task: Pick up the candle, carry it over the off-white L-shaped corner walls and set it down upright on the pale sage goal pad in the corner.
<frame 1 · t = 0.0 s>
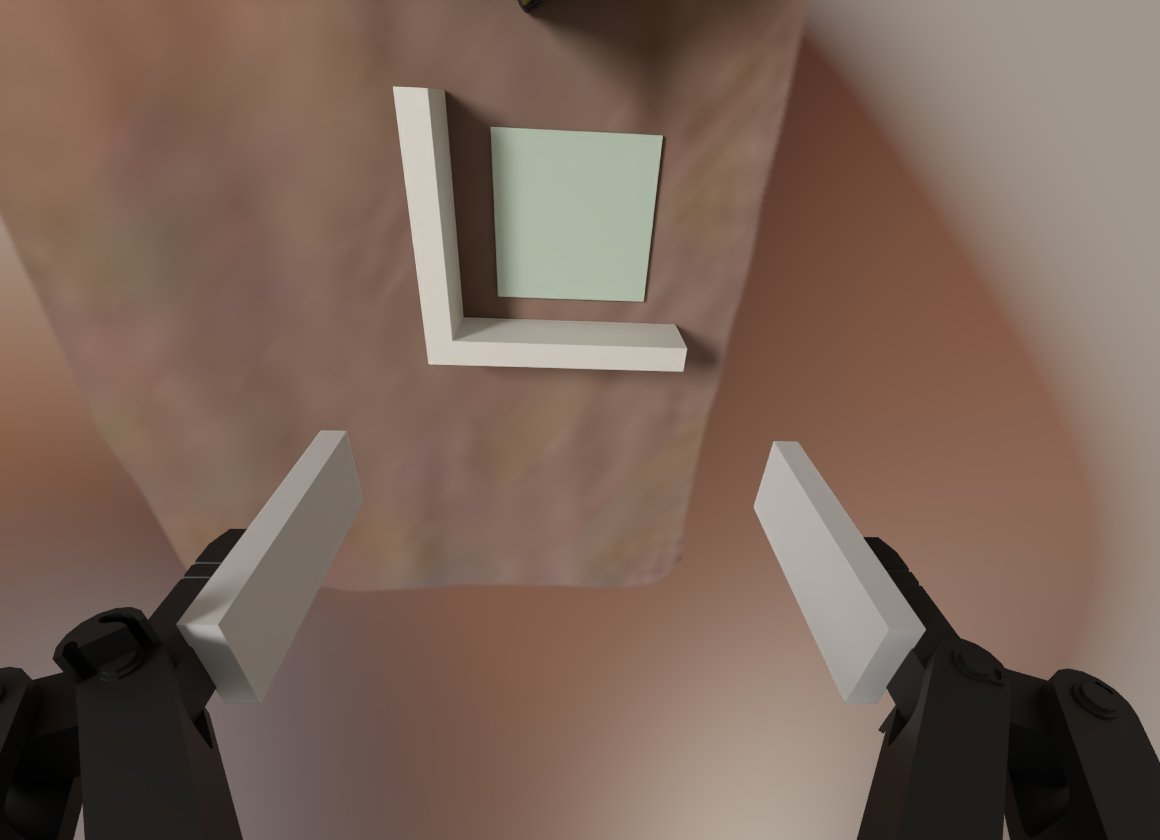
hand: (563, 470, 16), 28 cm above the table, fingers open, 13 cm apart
goal pad: (574, 221, 38), on the table
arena: (560, 220, 38), on the table
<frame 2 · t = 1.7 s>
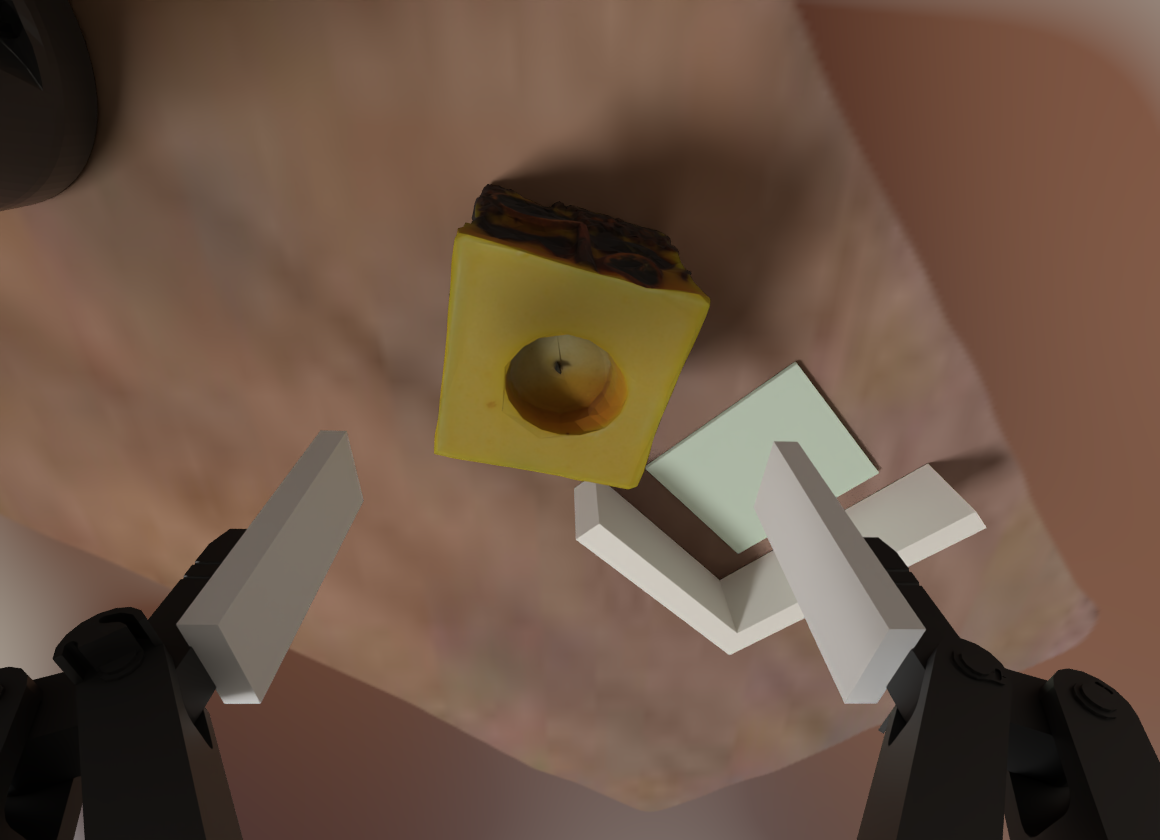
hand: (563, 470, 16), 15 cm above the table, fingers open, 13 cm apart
goal pad: (762, 468, 36), on the table
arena: (750, 475, 36), on the table
candle: (559, 296, 29), on the table
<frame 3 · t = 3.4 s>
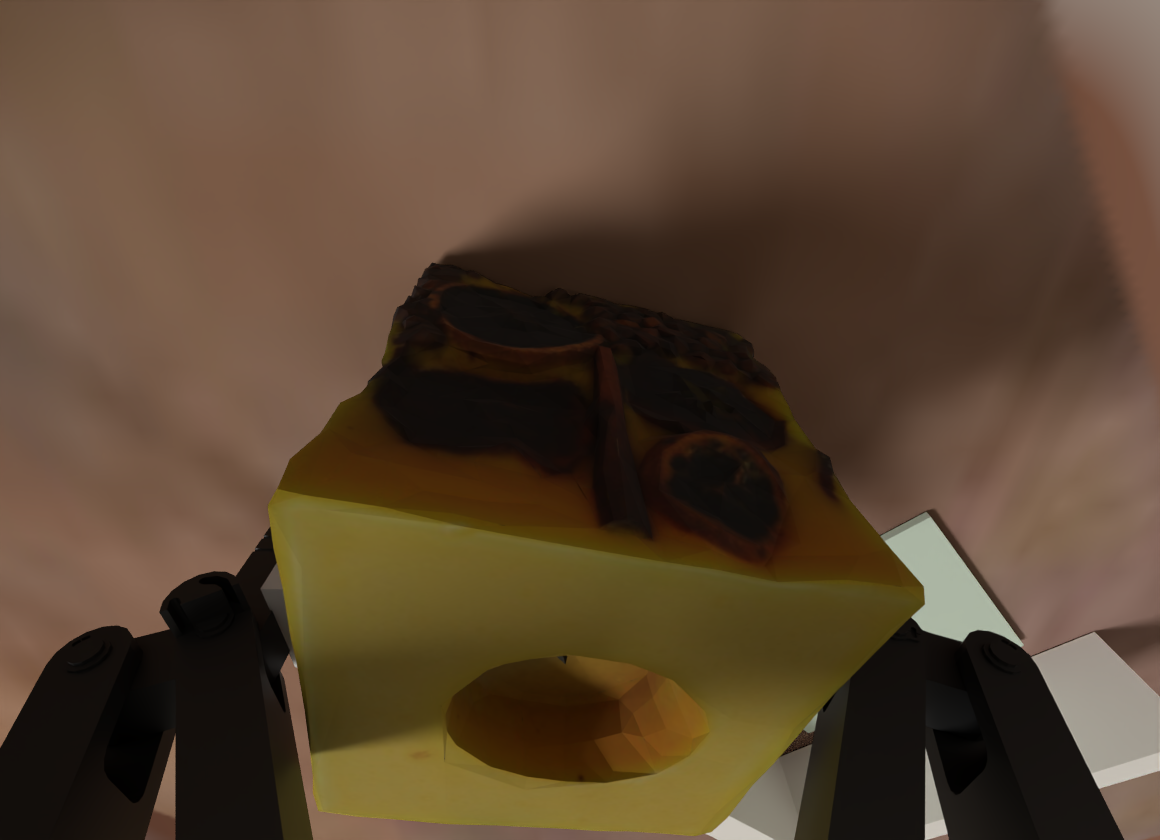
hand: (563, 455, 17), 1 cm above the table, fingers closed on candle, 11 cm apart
goal pad: (855, 639, 25), on the table
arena: (836, 648, 25), on the table
candle: (562, 427, 18), on the table, touching gripper
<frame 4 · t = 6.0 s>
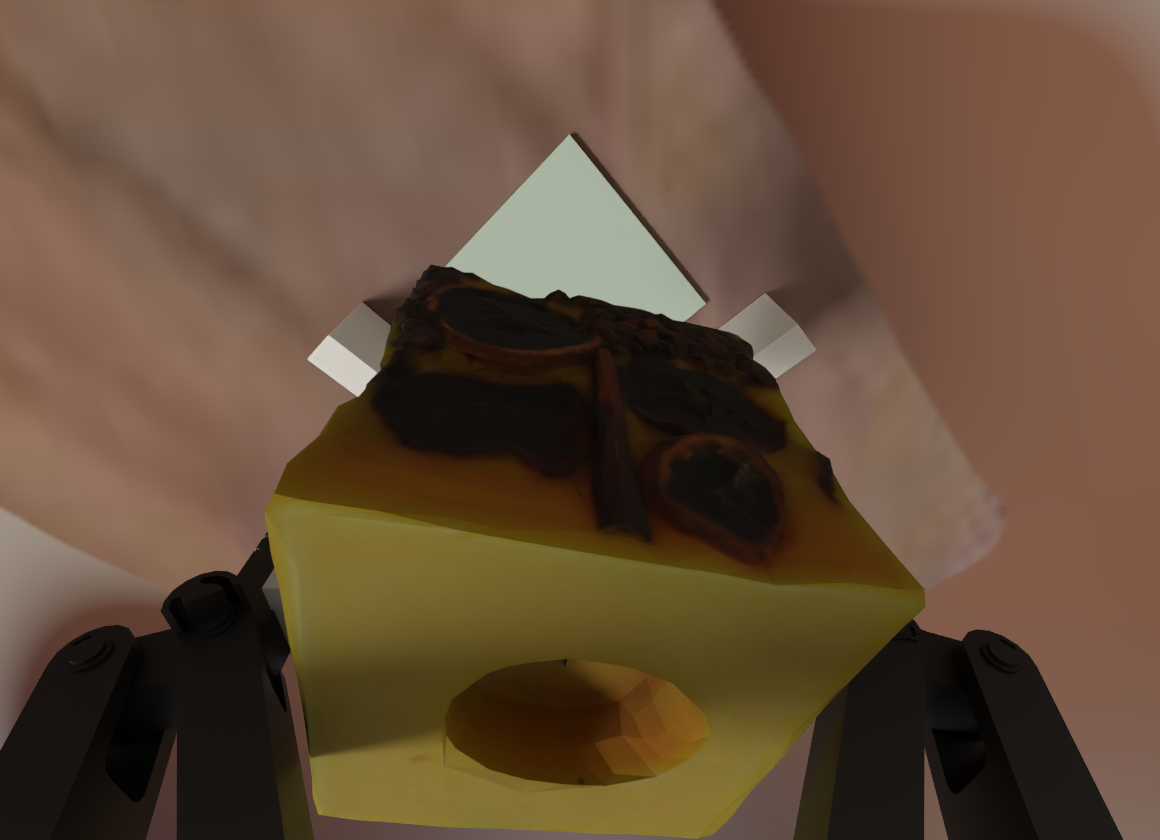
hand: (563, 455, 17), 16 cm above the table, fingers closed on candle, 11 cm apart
goal pad: (564, 297, 30), on the table
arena: (552, 308, 30), on the table
candle: (562, 428, 18), point 14 cm above the table, touching gripper
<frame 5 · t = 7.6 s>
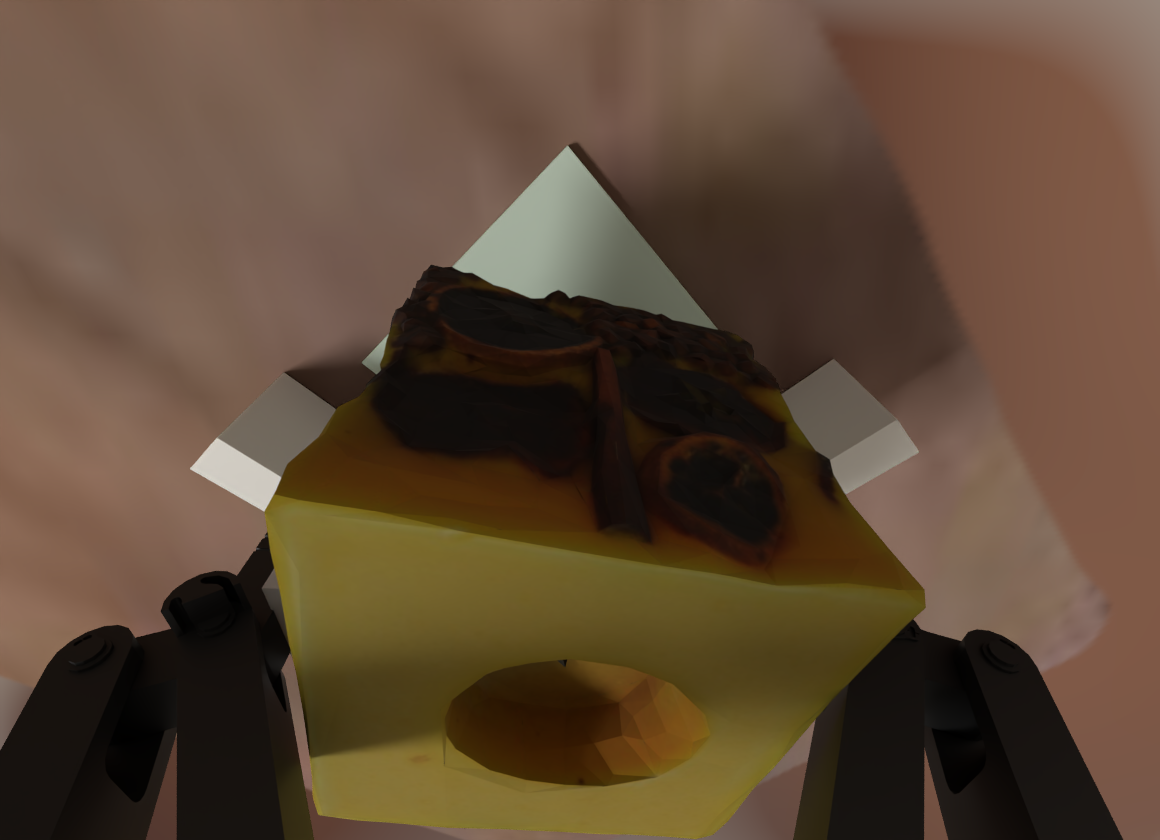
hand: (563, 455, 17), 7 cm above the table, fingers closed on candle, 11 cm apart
goal pad: (561, 365, 22), on the table
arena: (545, 379, 22), on the table
candle: (562, 428, 18), point 5 cm above the table, touching gripper
when the fingers open (3 cm above the table, at t = 8.9 s): candle drops 1 cm, resting on goal pad.
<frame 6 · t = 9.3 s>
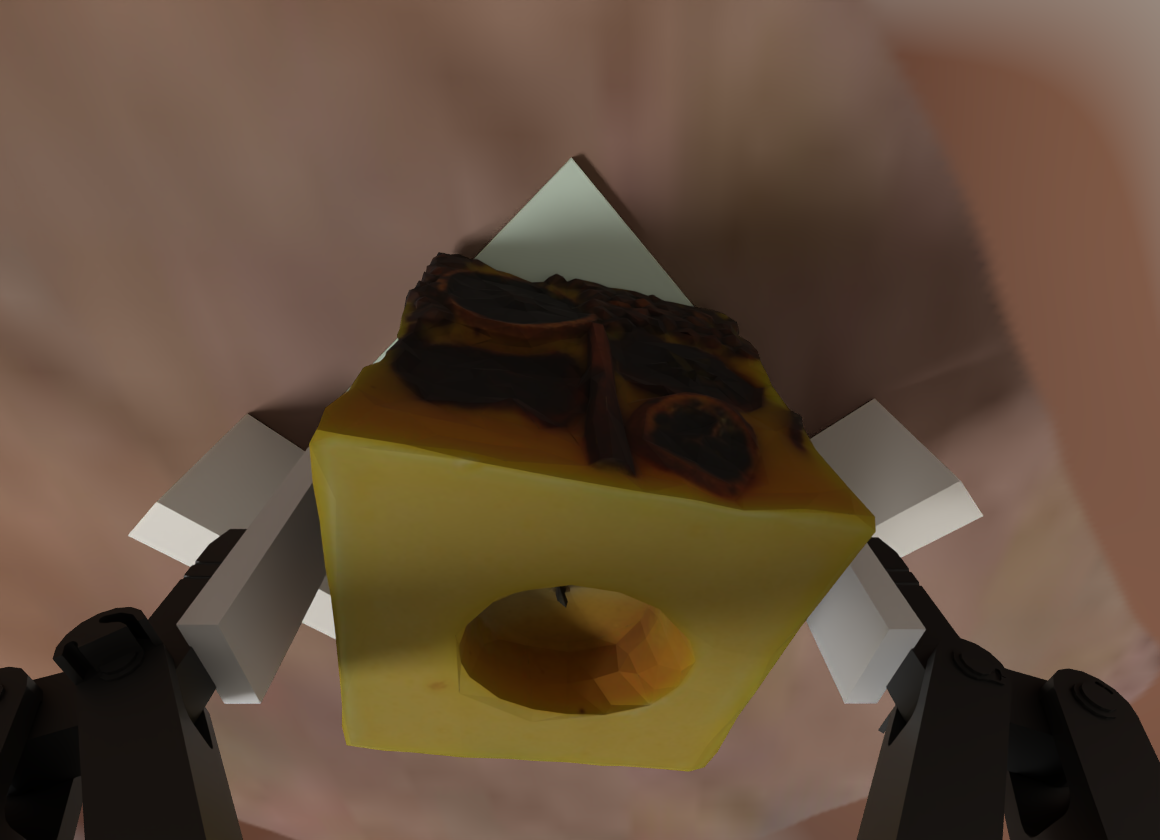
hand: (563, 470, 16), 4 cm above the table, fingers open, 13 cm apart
goal pad: (563, 405, 19), on the table
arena: (544, 420, 20), on the table
candle: (562, 406, 19), resting on goal pad
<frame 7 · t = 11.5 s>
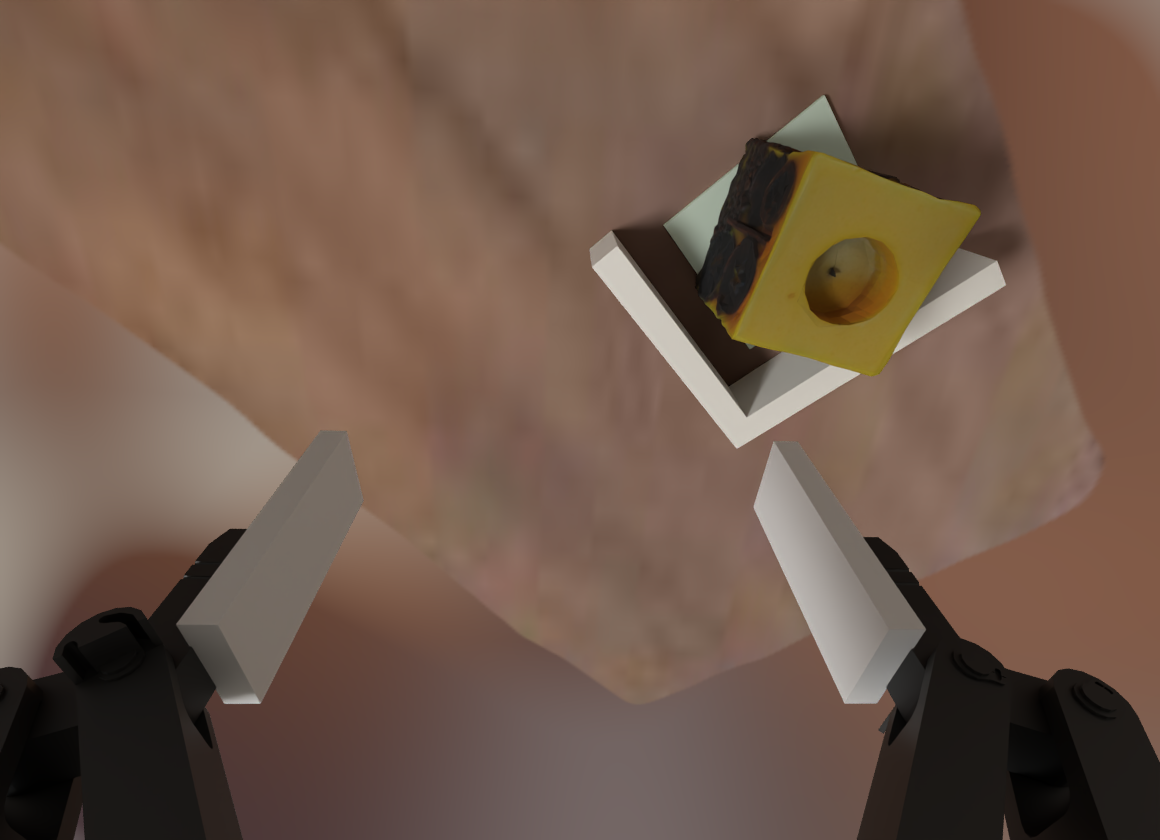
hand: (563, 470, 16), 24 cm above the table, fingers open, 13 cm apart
goal pad: (780, 237, 36), on the table
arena: (768, 246, 36), on the table
candle: (781, 236, 35), resting on goal pad
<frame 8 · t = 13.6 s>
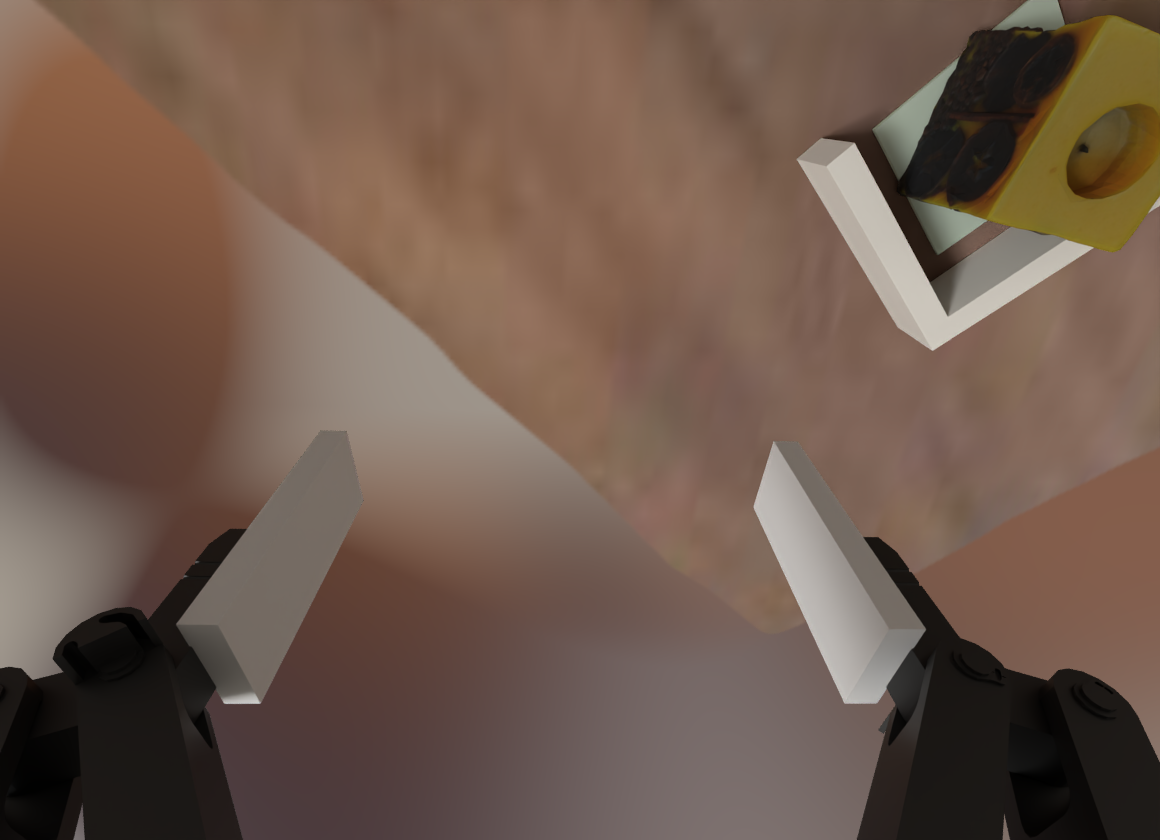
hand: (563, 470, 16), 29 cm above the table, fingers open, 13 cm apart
goal pad: (985, 135, 37), on the table
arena: (971, 145, 37), on the table
candle: (985, 134, 36), resting on goal pad
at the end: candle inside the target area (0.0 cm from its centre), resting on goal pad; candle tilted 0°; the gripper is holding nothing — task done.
